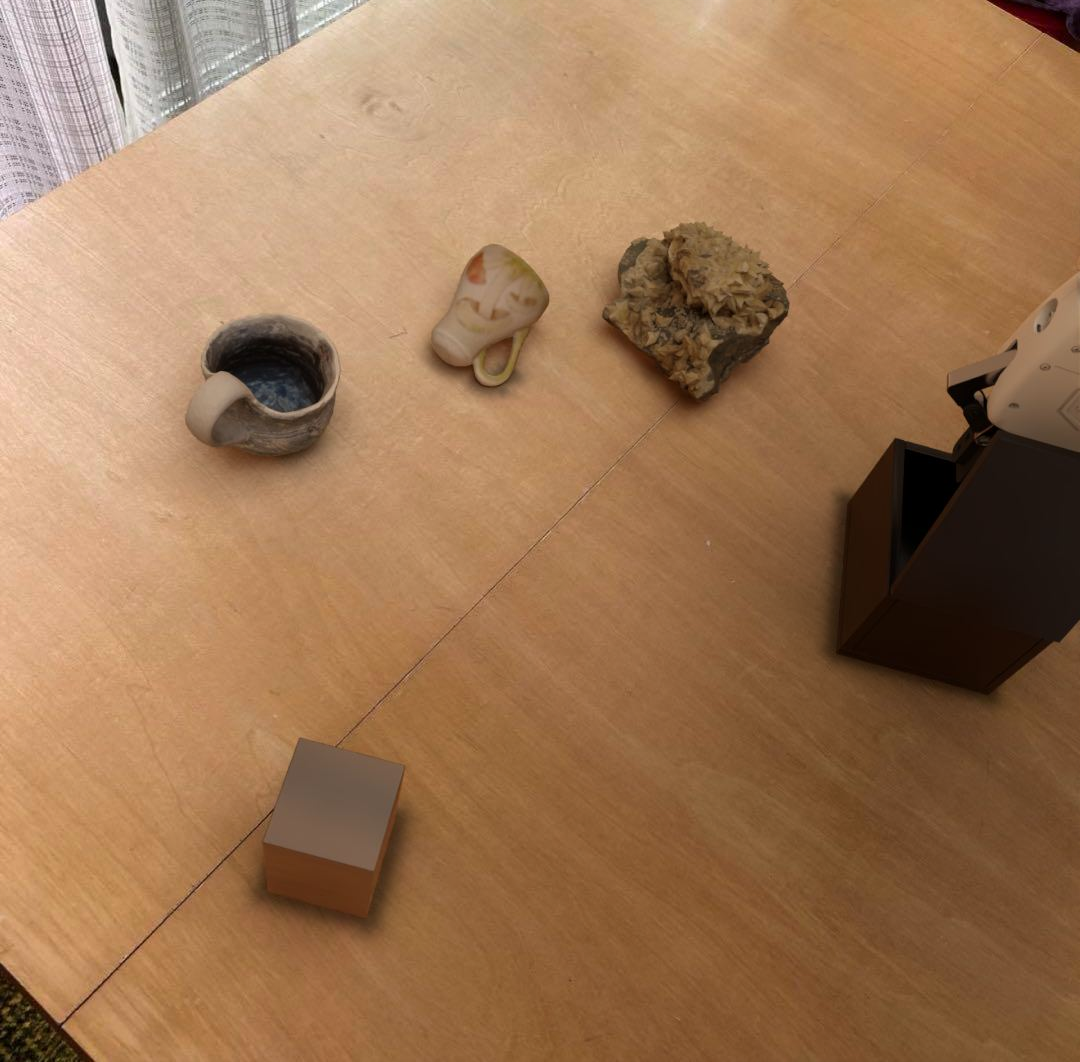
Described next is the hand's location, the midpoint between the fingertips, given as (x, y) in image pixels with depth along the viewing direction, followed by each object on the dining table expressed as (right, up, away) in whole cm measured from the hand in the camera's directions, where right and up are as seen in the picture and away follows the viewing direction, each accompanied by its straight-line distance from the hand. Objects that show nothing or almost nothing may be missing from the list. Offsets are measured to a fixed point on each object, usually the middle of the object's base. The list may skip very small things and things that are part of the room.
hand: (1001, 476), depth 78 cm
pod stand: (-43, -23, -8) cm, 50 cm away
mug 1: (-51, +3, +7) cm, 52 cm away
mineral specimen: (-20, +13, +20) cm, 31 cm away
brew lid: (-1, -4, -7) cm, 8 cm away
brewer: (-3, -9, +10) cm, 13 cm away
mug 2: (-36, +12, +16) cm, 41 cm away
